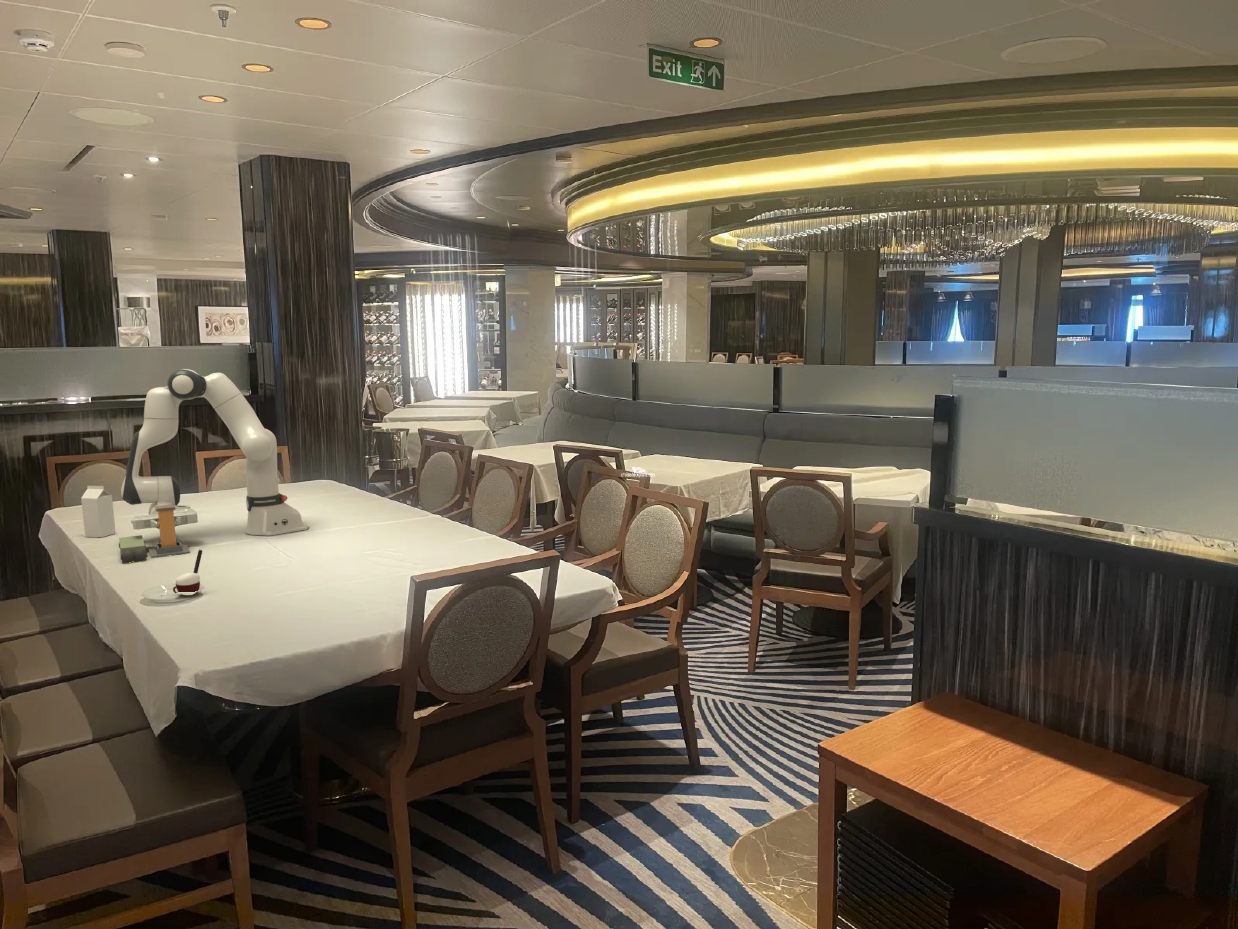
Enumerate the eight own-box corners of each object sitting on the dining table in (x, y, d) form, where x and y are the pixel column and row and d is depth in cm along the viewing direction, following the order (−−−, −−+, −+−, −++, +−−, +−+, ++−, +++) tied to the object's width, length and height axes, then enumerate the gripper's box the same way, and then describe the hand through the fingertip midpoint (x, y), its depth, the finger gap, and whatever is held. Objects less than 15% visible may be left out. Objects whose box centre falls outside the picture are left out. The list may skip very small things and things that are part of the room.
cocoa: (175, 601, 245) (169, 560, 242) (170, 595, 250) (165, 555, 247) (211, 593, 250) (206, 553, 248) (206, 587, 255) (201, 548, 253)
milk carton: (101, 538, 321) (96, 487, 318) (85, 537, 322) (79, 487, 319) (116, 533, 328) (111, 484, 325) (99, 533, 329) (94, 484, 326)
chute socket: (186, 546, 307) (186, 538, 307) (190, 553, 297) (189, 545, 296) (148, 550, 301) (148, 543, 300) (150, 558, 291) (150, 550, 290)
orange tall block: (177, 543, 302) (173, 504, 300) (178, 546, 298) (175, 507, 295) (158, 545, 299) (155, 506, 297) (159, 549, 295) (156, 508, 292)
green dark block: (144, 548, 305) (143, 534, 304) (148, 560, 287) (146, 546, 287) (119, 551, 301) (117, 537, 300) (121, 564, 283) (119, 549, 283)
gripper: (129, 511, 302) (131, 518, 291) (194, 505, 313) (198, 511, 301) (131, 529, 303) (133, 536, 292) (195, 522, 314) (199, 529, 302)
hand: (166, 524), depth 297 cm, fingers closed on orange tall block, 4 cm apart
